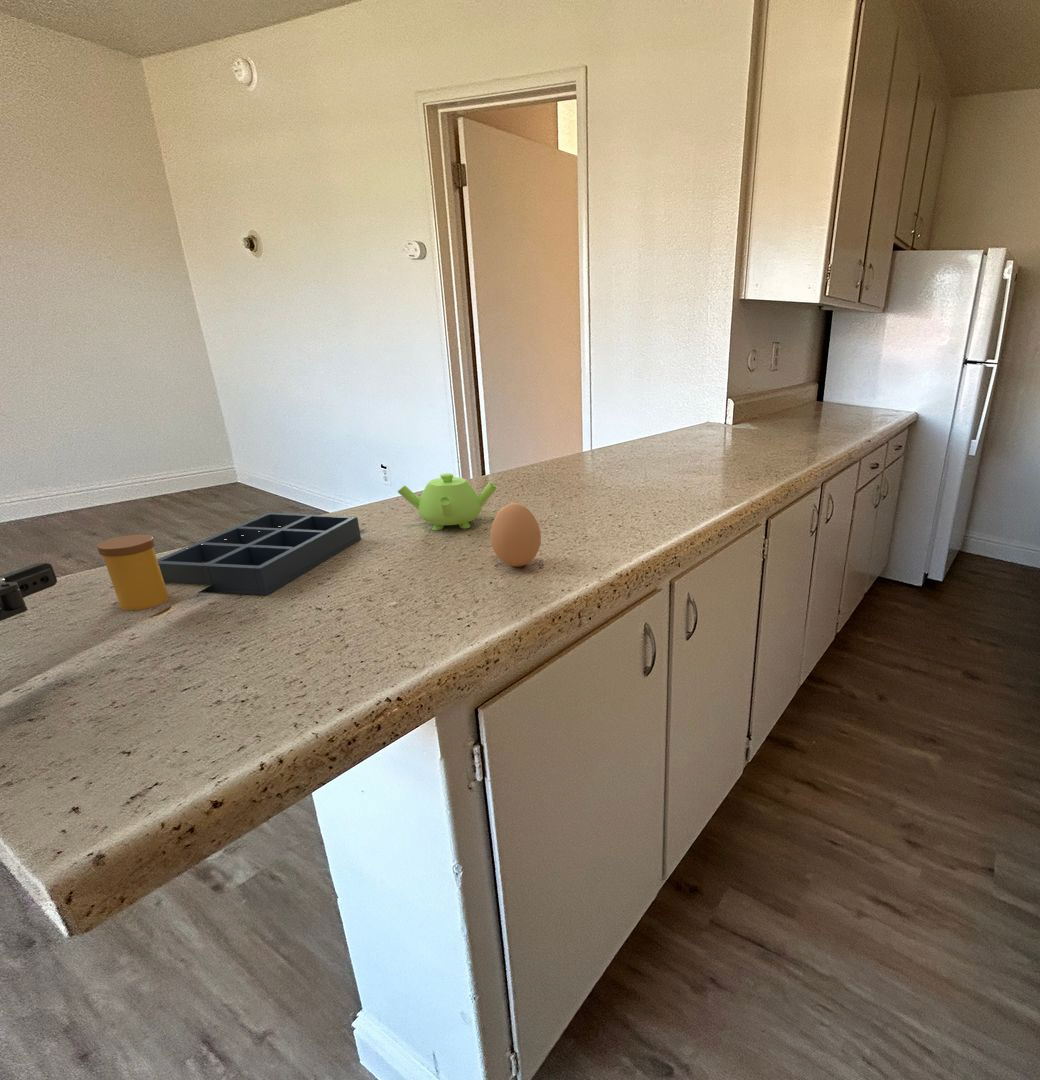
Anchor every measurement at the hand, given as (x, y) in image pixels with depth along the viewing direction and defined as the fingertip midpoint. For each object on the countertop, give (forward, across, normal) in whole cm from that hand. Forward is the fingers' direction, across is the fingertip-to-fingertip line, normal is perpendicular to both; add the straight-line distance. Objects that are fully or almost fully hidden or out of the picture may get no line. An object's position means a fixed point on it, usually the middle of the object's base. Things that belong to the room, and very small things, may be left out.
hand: (3, 570), depth 53 cm
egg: (+29, -36, +10) cm, 47 cm away
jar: (+11, 0, +10) cm, 15 cm away
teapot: (+44, -20, +10) cm, 49 cm away
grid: (+26, -3, +10) cm, 28 cm away
